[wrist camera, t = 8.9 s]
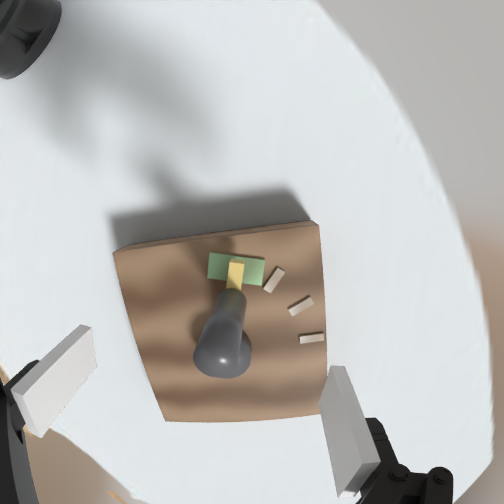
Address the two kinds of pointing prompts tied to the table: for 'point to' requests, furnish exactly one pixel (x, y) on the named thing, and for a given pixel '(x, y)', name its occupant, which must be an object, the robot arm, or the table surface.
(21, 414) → the robot arm
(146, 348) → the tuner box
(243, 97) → the table surface
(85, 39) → the table surface
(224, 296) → the dark grey lever
